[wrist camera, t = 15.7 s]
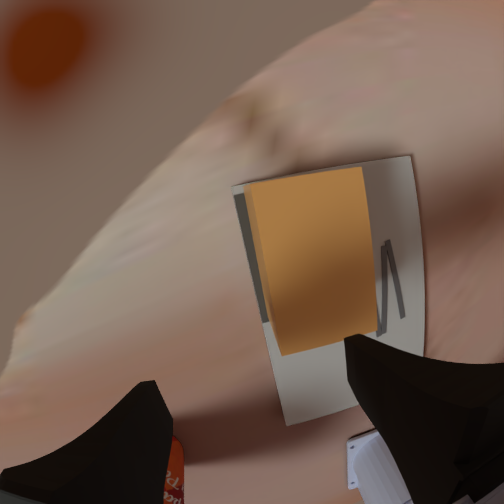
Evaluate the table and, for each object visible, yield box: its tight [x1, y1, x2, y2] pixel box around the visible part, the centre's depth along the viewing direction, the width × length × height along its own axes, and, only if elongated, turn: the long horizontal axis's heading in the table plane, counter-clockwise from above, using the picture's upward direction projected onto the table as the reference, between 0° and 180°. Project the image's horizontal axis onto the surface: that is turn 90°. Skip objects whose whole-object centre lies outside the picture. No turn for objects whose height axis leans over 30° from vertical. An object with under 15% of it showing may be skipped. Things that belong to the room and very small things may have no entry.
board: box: [231, 156, 425, 426], centre depth 20 cm, size 18×12×1 cm, turn 12°
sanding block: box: [243, 167, 377, 356], centre depth 16 cm, size 8×5×5 cm, turn 11°
